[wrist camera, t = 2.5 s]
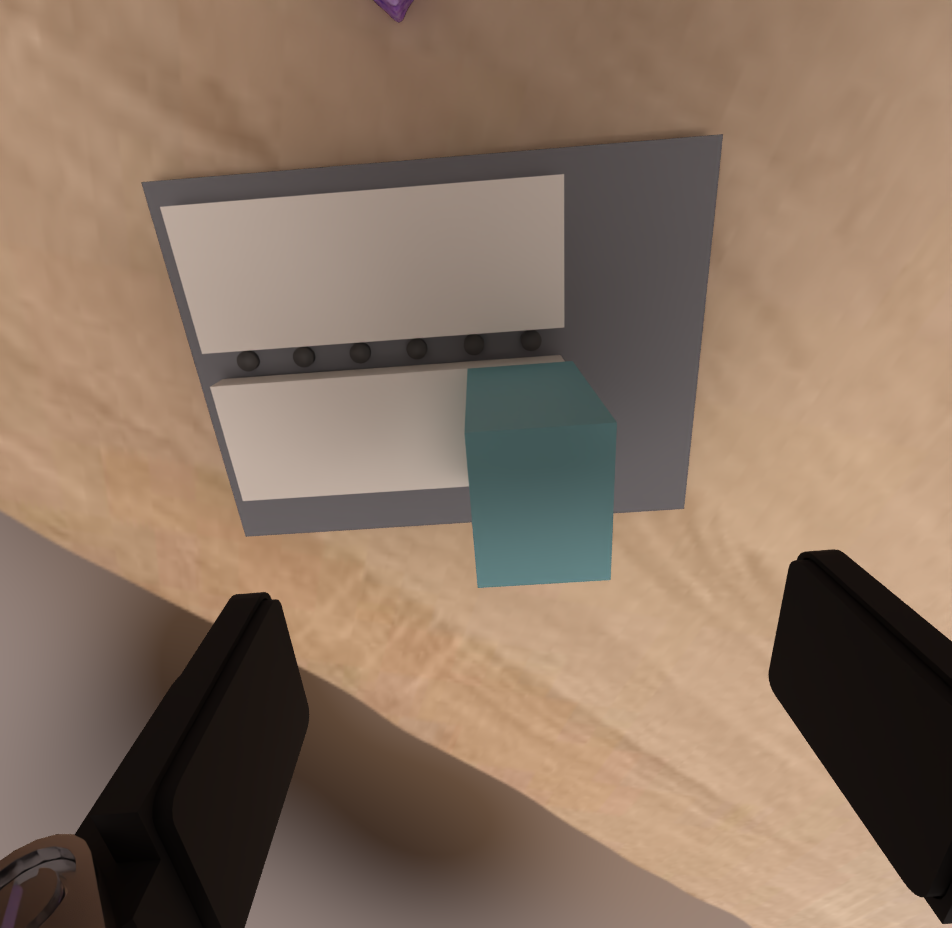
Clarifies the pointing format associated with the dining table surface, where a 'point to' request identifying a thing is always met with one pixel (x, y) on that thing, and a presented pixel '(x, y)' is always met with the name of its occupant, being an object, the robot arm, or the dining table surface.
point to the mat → (581, 340)
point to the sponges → (395, 8)
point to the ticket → (373, 267)
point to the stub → (444, 452)
